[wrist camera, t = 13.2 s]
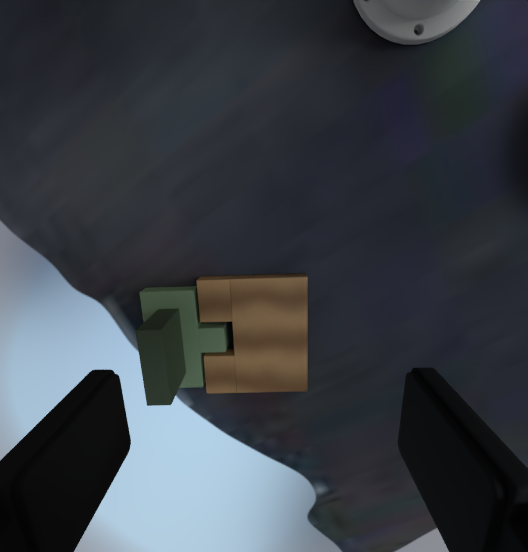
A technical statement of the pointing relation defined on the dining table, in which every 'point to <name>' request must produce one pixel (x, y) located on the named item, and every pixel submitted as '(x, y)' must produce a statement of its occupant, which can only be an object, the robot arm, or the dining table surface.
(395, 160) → the dining table surface
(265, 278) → the notched brown wooden block
